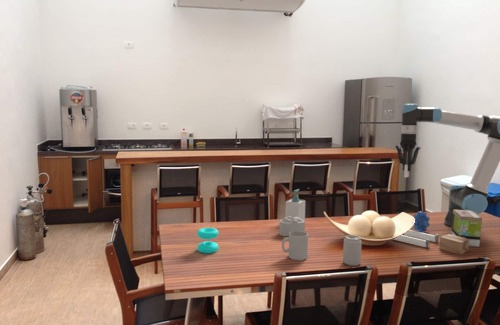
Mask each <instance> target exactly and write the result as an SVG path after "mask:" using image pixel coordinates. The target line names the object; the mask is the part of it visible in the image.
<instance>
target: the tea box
mask: <svg viewBox="0 0 500 325" xmlns="http://www.w3.org/2000/svg"><path fill="white" fill-rule="evenodd" d="M482 224H483V217H482V216H481V215H479V214H477V213H475V212H474V211H471V210H453V217H452V226H451V231H450V232H451V233H450V234H451V235H455V236H459V237H463V238H467V239H470V240H469V247H480V243H481V232H482Z"/></svg>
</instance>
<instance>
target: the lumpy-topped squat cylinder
mask: <svg viewBox="0 0 500 325" xmlns="http://www.w3.org/2000/svg"><path fill="white" fill-rule="evenodd" d="M305 227H306V220H305V221H304V220H302V219H300V218H299V217H293V218H292V217H291V216H287V217H286V218H285V217H283V218H282V219H280V220H279V226H278V228H279V231H278V232H279V234H280V235H279V236H281V235H282V236H281V237H286V236H289V233H290V232H292V231H304V232H306V231H305V229H306V228H305Z"/></svg>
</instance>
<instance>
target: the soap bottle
mask: <svg viewBox="0 0 500 325" xmlns="http://www.w3.org/2000/svg"><path fill="white" fill-rule="evenodd" d="M299 191H300V188H297V189H294V190H293V193H294V195H293V196H292V198H290V199H288V200H286V201H285V210H284V211H285V215H284V218H286V217H287V216H291V217H292V218H293V217H299V218H300V219H302V220H304V221H305V222H306V200H305V199H300V198H299V196H298V192H299Z"/></svg>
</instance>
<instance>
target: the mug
mask: <svg viewBox="0 0 500 325" xmlns="http://www.w3.org/2000/svg"><path fill="white" fill-rule="evenodd" d="M286 242H288V248H285V243H286ZM308 249H309V233H308V232H306V231H305V232H304V231H292V232H290V233H289V237H284V238H283V239H282V241H281V250H282V251H283V253H287V254H288V257H289V259H290V258H291V259H290V260H293V259H294V260H293V261H305V260H307V259H308V257H309V254H308V253H309V251H308ZM304 259H305V260H304Z"/></svg>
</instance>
